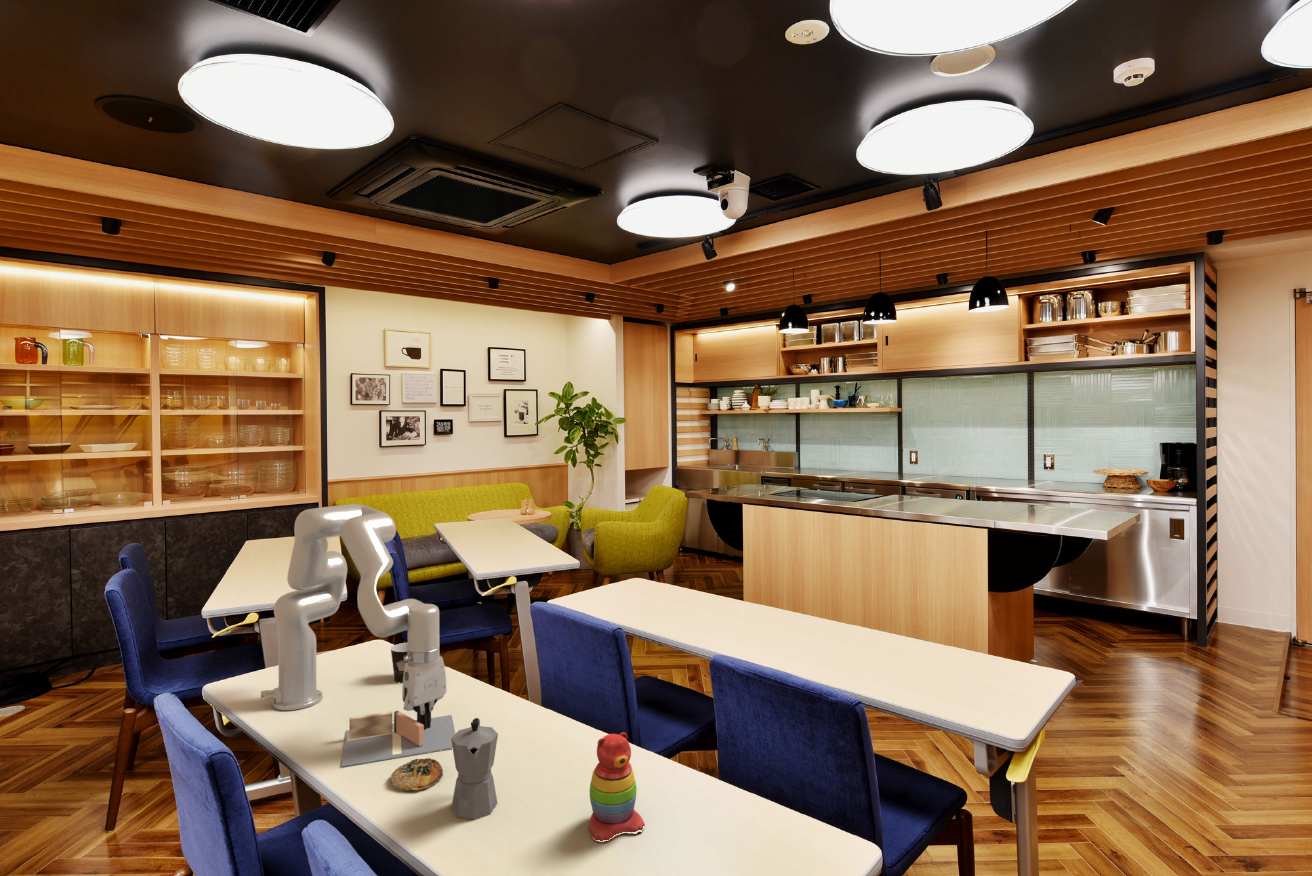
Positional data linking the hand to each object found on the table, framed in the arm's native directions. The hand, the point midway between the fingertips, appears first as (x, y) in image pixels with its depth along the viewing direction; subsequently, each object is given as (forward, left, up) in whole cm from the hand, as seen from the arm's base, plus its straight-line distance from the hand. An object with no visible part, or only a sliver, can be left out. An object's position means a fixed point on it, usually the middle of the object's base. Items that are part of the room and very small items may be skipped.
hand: (424, 727), depth 166 cm
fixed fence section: (-12, +7, -3) cm, 14 cm away
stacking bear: (+34, -50, -4) cm, 61 cm away
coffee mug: (-2, +43, -4) cm, 43 cm away
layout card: (-5, +2, -3) cm, 7 cm away
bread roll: (-2, -19, -4) cm, 19 cm away
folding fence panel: (-3, +1, -3) cm, 4 cm away
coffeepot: (+9, -33, -4) cm, 35 cm away
